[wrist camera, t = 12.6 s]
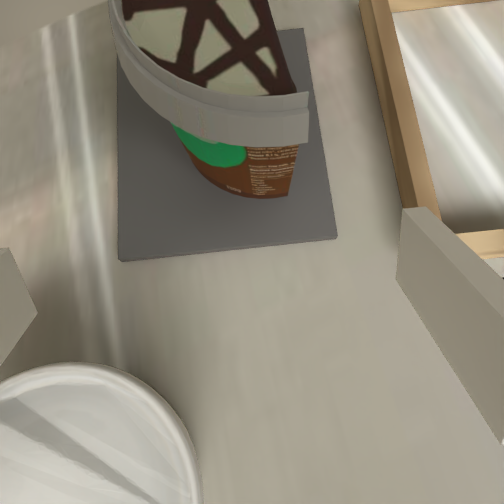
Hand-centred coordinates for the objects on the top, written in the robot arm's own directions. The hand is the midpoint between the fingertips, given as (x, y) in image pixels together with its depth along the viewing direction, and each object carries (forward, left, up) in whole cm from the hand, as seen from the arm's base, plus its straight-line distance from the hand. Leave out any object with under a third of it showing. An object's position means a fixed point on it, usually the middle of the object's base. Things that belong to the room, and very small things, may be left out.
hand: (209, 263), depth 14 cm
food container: (0, -10, -8) cm, 12 cm away
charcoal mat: (0, -10, -8) cm, 13 cm away
